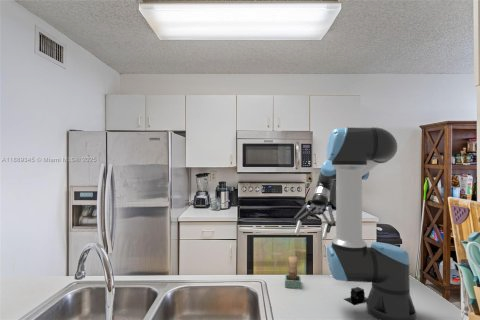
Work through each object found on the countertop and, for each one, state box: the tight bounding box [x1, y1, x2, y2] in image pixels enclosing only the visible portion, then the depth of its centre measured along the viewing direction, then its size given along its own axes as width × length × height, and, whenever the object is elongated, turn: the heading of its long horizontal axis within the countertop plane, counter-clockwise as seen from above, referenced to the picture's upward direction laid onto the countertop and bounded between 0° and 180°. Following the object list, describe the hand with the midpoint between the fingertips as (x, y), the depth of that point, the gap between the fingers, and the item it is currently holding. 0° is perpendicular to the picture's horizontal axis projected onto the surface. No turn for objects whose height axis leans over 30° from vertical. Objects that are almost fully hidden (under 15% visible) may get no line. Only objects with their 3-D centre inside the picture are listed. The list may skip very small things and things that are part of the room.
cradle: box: [284, 274, 302, 290], centre depth 118 cm, size 7×7×3 cm
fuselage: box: [288, 255, 298, 281], centre depth 118 cm, size 4×4×12 cm
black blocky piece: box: [343, 286, 368, 306], centre depth 105 cm, size 12×7×5 cm, turn 115°
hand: (309, 236), depth 127 cm, fingers open, 13 cm apart
